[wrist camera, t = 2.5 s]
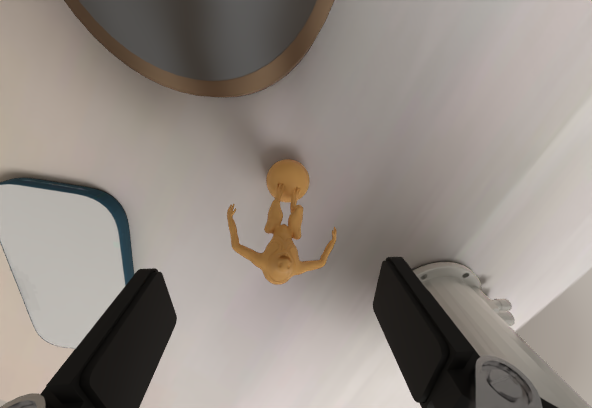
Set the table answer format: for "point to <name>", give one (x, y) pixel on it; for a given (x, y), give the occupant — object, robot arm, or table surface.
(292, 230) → the figurine
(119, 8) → the walnut stand
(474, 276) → the robot arm
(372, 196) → the table surface
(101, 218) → the external hard drive
